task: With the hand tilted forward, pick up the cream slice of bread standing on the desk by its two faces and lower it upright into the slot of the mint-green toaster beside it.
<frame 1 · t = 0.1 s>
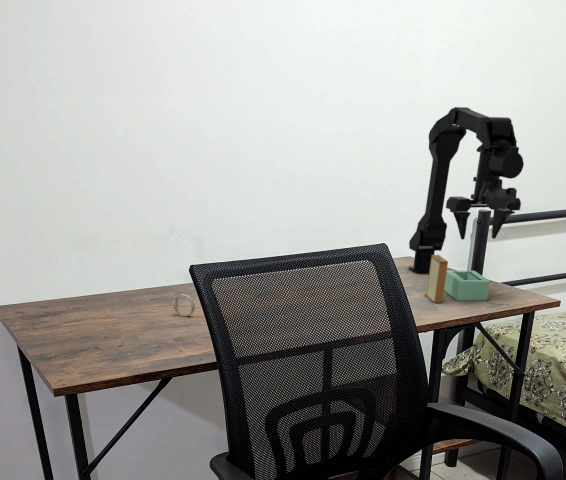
hand: (478, 238, 188), 15 cm above the table, tool pointing down, fingers open, 9 cm apart
beige ring: (185, 316, 171), on the table
toaster: (464, 294, 196), on the table
toast: (434, 298, 191), on the table
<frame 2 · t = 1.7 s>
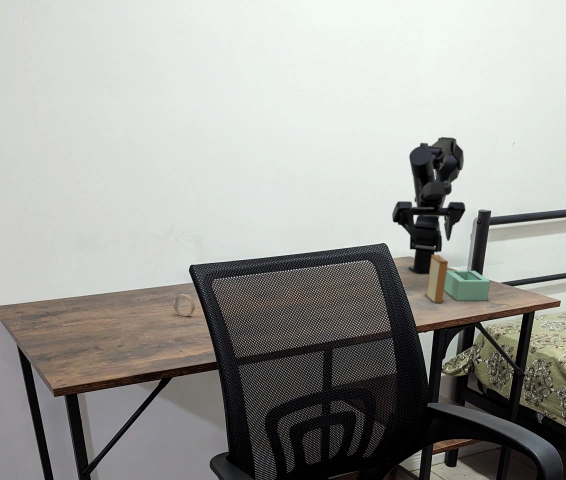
hand: (432, 239, 191), 13 cm above the table, tool tilted 45°, fingers open, 9 cm apart
nothing on the table moved.
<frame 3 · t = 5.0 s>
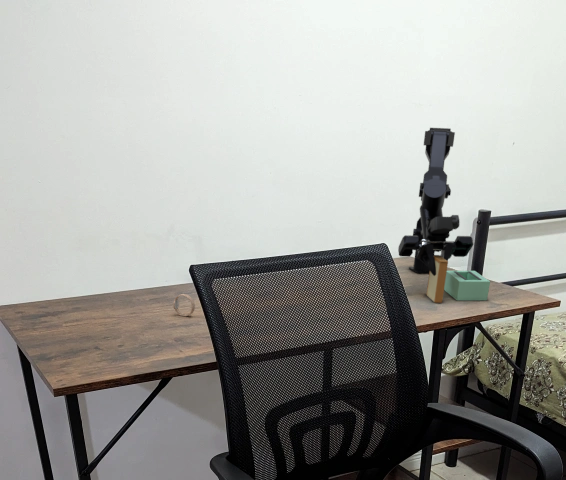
hand: (439, 274, 186), 7 cm above the table, tool tilted 45°, fingers closed on toast, 2 cm apart
toast: (434, 298, 191), on the table, touching gripper
everything else where it was.
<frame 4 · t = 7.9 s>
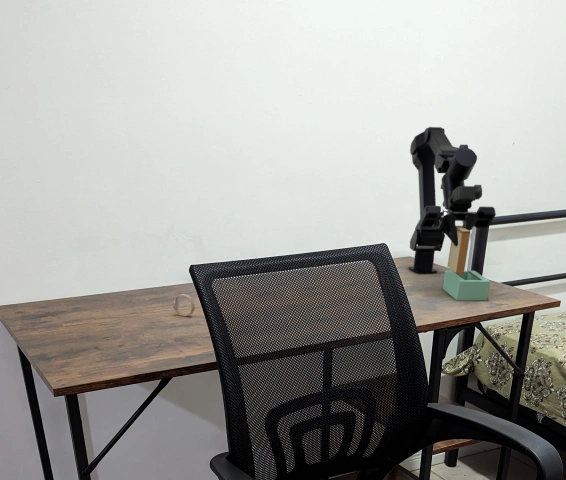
hand: (461, 245, 186), 13 cm above the table, tool tilted 45°, fingers closed on toast
toast: (455, 270, 190), point 7 cm above the table, touching gripper
everything else where it was.
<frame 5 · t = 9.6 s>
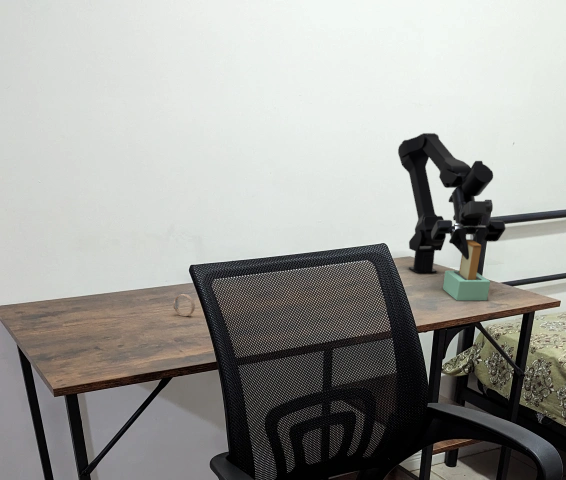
hand: (471, 258, 190), 10 cm above the table, tool tilted 45°, fingers closed on toast
toast: (466, 282, 194), point 3 cm above the table, touching gripper
everything else where it was.
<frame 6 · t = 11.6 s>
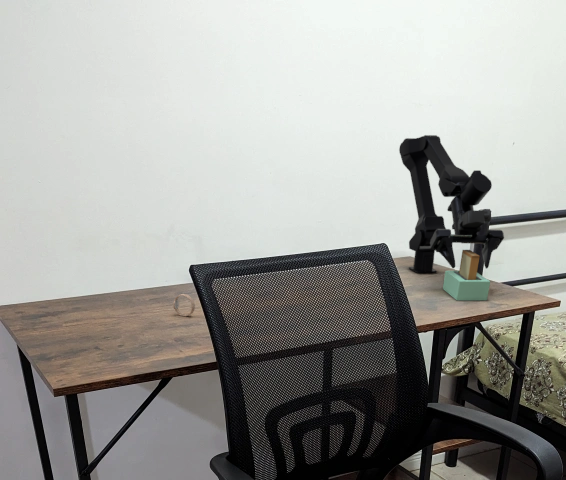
hand: (470, 267, 191), 7 cm above the table, tool tilted 45°, fingers open, 9 cm apart
toast: (464, 292, 196), resting on toaster
everything else where it was.
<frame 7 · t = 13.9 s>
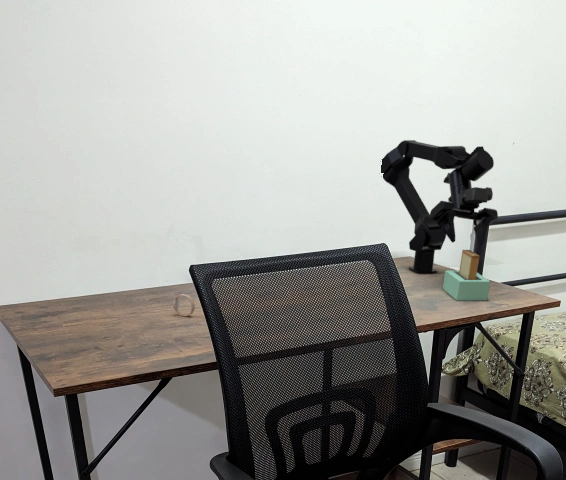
hand: (467, 243, 195), 12 cm above the table, tool tilted 40°, fingers open, 9 cm apart
nothing on the table moved.
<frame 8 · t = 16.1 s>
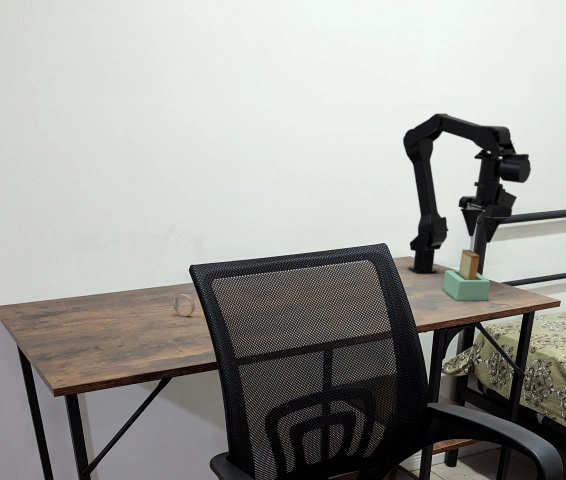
hand: (479, 239, 201), 12 cm above the table, tool pointing down, fingers open, 9 cm apart
nothing on the table moved.
at the end: toast inside the target area on the toaster (0.0 cm from its centre), point 0.5 cm above the toaster's base; the gripper is holding nothing; toast tilted 0° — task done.
